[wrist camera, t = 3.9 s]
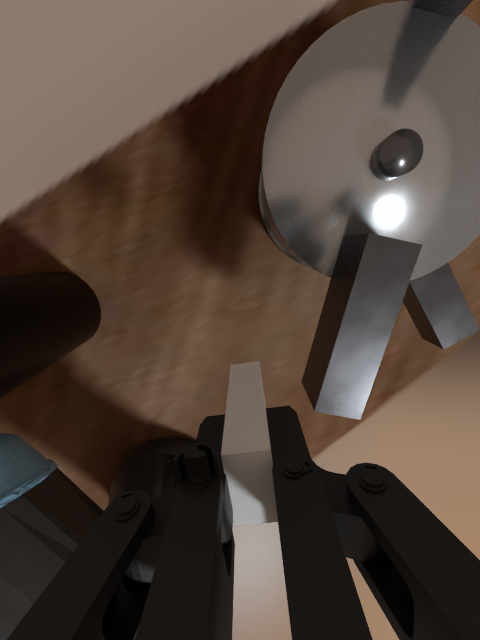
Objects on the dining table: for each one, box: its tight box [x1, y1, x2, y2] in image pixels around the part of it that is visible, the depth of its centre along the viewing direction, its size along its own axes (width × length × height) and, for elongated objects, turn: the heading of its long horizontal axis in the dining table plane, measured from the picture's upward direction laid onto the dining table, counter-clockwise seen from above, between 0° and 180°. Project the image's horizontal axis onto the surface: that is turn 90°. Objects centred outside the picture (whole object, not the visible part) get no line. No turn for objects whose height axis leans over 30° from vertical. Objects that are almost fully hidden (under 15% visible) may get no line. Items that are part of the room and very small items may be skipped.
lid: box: [261, 0, 480, 420], centre depth 17 cm, size 25×16×5 cm, turn 168°
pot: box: [258, 173, 479, 349], centre depth 24 cm, size 23×15×9 cm
